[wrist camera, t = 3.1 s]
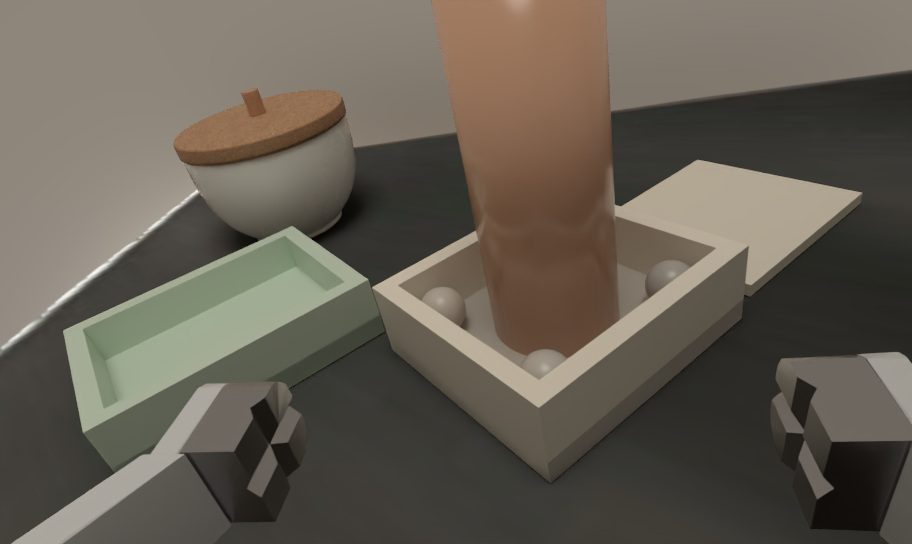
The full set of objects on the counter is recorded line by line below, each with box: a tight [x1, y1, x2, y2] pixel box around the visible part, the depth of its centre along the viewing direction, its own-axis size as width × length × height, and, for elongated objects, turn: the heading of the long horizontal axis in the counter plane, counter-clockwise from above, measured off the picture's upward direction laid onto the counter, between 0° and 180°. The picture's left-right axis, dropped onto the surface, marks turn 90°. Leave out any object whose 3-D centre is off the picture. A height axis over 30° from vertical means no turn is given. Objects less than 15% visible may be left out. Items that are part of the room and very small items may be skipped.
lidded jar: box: [174, 88, 355, 241], centre depth 37 cm, size 11×11×9 cm
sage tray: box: [63, 226, 385, 473], centre depth 27 cm, size 12×9×3 cm
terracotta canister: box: [431, 0, 620, 358], centre depth 20 cm, size 5×5×15 cm
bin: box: [372, 160, 862, 484], centre depth 26 cm, size 22×10×4 cm, turn 127°
